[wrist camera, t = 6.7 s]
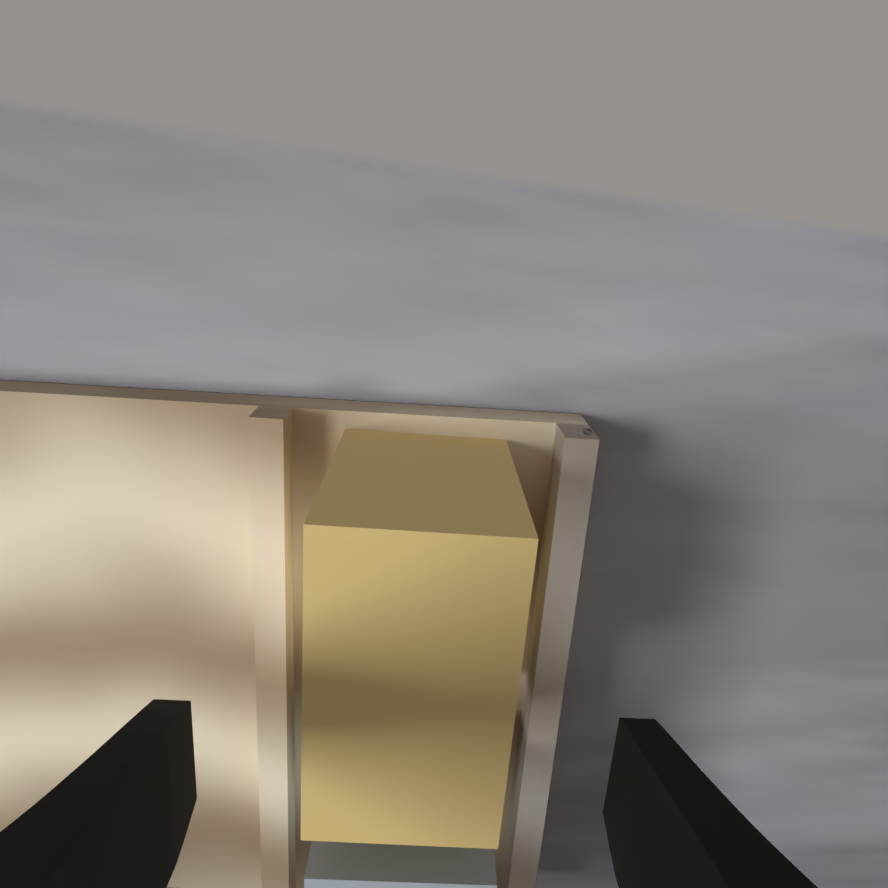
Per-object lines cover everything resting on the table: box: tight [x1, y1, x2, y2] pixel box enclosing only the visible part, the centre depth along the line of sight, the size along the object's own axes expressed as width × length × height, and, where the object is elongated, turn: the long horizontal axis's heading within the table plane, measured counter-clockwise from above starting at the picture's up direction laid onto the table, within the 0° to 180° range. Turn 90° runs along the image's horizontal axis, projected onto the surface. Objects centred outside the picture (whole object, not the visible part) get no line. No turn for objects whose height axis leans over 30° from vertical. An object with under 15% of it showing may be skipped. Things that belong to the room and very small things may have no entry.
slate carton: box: [304, 841, 497, 888], centre depth 18 cm, size 7×4×6 cm, turn 176°
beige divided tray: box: [0, 380, 600, 888], centre depth 19 cm, size 16×18×2 cm
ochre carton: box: [301, 429, 539, 849], centre depth 15 cm, size 7×4×6 cm, turn 176°
